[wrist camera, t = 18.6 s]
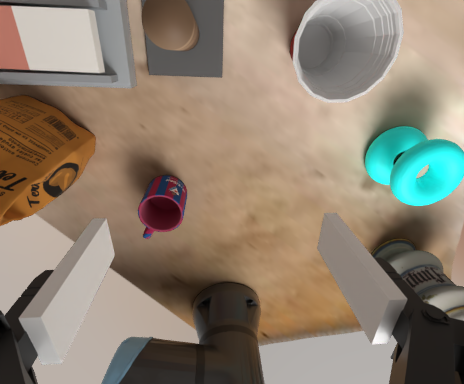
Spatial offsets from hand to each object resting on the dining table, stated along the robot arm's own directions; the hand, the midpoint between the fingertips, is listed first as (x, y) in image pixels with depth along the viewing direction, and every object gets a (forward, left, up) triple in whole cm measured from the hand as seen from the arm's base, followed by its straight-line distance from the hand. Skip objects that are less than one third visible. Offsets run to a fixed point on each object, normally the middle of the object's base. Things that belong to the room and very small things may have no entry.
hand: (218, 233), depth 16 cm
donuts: (-4, -30, -28) cm, 41 cm away
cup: (-13, +9, -28) cm, 32 cm away
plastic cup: (+11, -13, -28) cm, 32 cm away
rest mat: (+12, +4, -28) cm, 30 cm away
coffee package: (-3, +24, -28) cm, 37 cm away
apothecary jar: (-27, -38, -28) cm, 54 cm away
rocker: (+10, +21, -23) cm, 33 cm away
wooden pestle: (+12, +4, -27) cm, 30 cm away
